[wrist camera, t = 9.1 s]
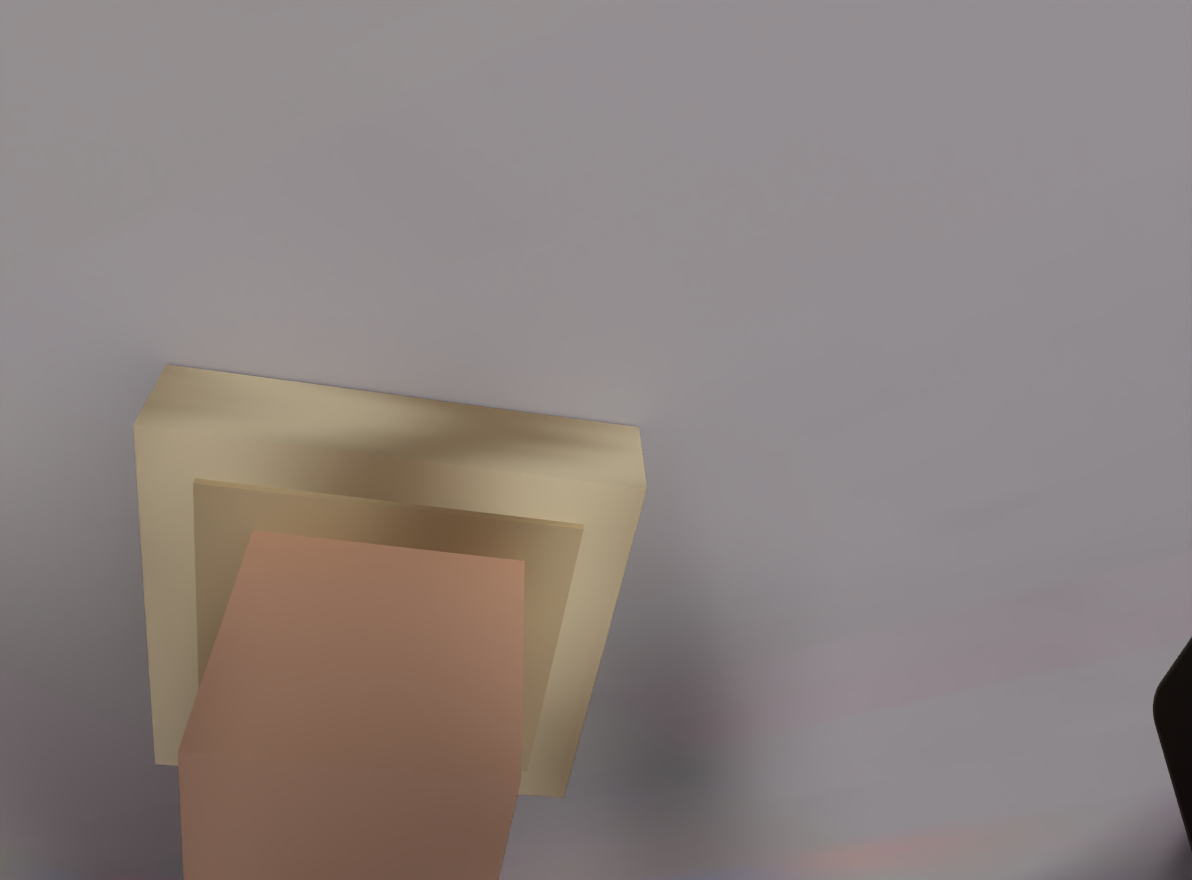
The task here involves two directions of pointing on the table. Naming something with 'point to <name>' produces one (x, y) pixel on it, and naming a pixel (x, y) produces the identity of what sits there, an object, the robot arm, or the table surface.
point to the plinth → (383, 521)
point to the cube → (357, 717)
